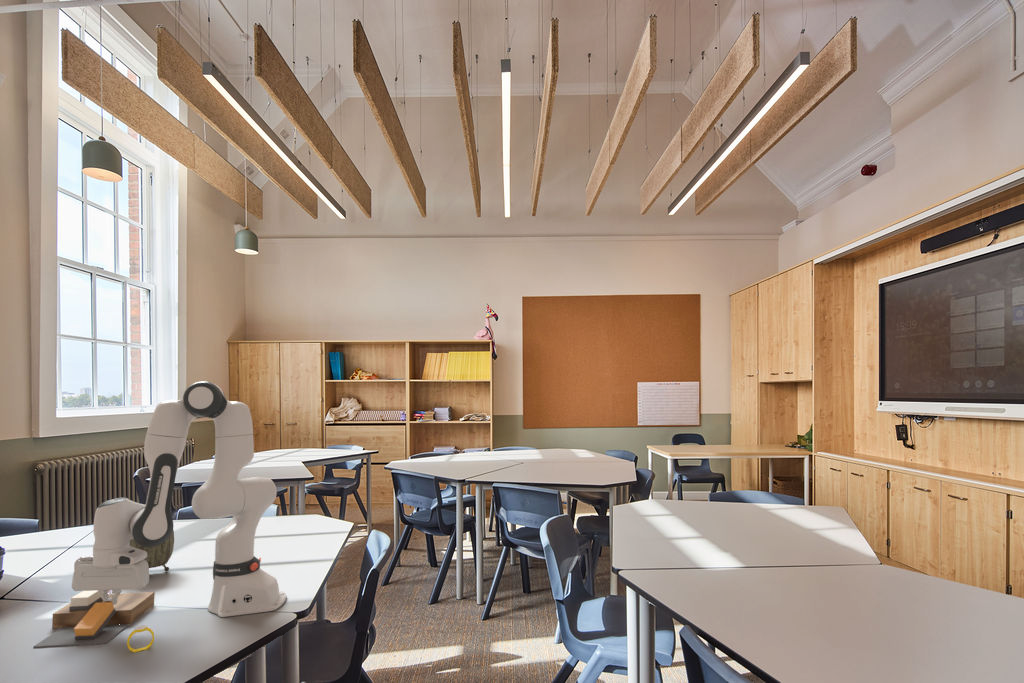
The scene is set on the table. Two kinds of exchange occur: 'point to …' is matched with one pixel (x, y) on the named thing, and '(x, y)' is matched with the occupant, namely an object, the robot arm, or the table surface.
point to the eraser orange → (94, 621)
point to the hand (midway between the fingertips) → (110, 604)
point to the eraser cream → (85, 600)
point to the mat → (67, 639)
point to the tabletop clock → (157, 552)
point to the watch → (137, 629)
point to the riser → (126, 608)
